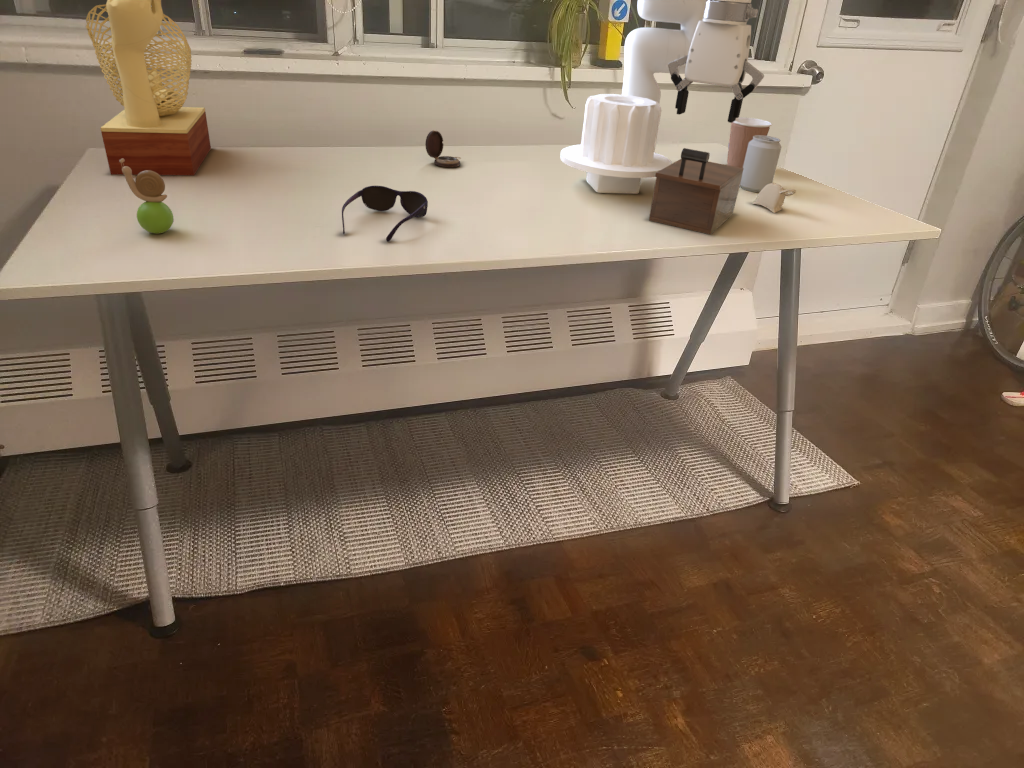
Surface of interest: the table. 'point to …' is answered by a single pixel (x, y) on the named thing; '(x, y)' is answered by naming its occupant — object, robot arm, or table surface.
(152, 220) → the snail figurine
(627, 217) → the table surface
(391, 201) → the sunglasses
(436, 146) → the compass
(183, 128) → the cream lattice sculpture
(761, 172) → the can
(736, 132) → the coffee cup
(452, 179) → the table surface
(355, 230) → the table surface
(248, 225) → the table surface
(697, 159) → the chest lid
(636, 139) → the flanged gear
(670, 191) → the chest
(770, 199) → the beige rounded piece
